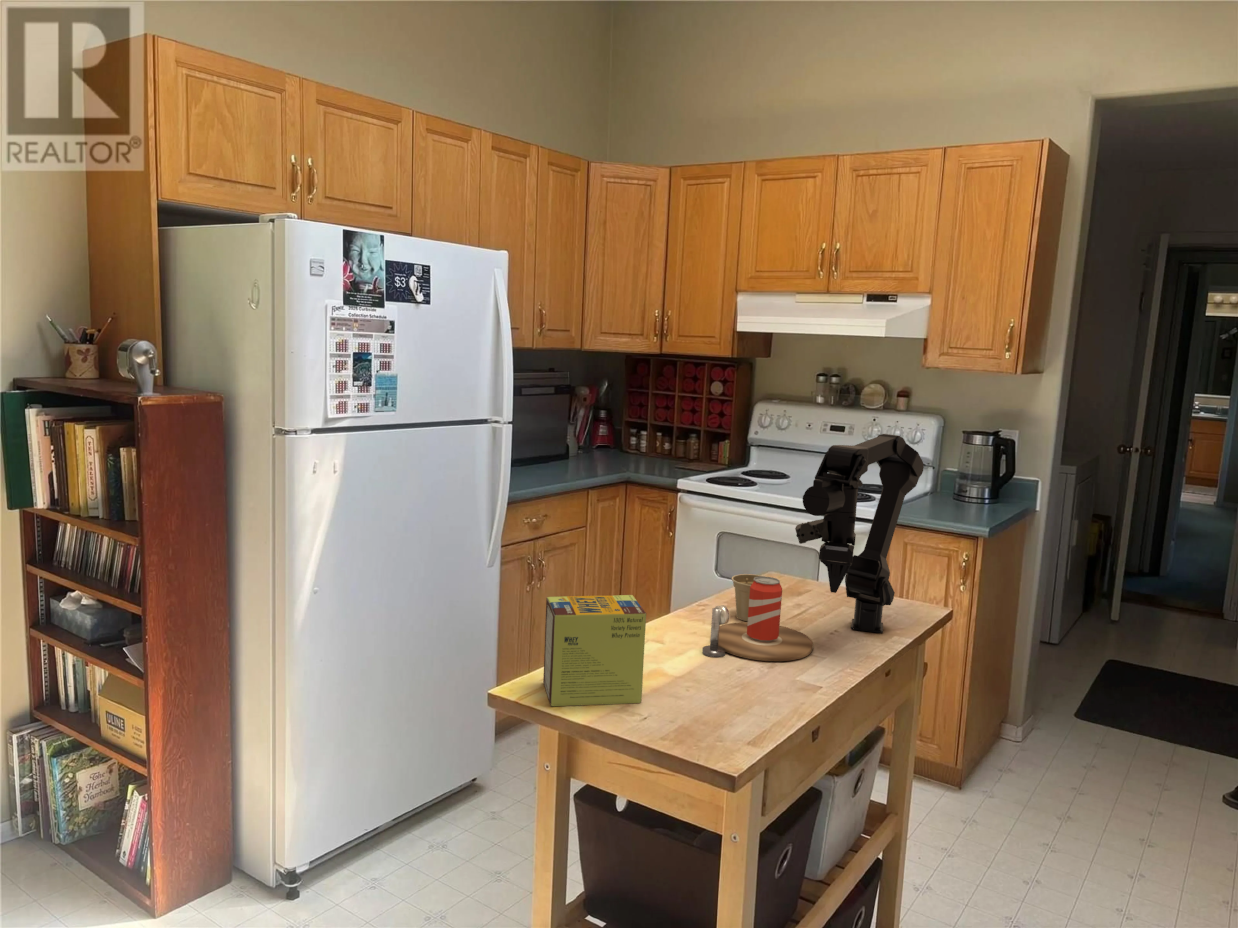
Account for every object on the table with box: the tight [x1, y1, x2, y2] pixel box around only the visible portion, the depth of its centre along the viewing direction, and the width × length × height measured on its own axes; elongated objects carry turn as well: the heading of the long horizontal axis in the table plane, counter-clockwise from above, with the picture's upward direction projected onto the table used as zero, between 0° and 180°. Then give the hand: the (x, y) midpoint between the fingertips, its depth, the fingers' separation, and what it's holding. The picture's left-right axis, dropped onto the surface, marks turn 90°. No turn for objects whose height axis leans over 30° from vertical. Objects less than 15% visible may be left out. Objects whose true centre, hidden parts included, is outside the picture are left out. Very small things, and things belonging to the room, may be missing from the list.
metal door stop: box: [701, 605, 730, 658], centre depth 173 cm, size 4×4×9 cm
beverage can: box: [747, 575, 783, 642], centre depth 179 cm, size 6×6×12 cm
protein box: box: [542, 594, 647, 707], centre depth 151 cm, size 10×15×16 cm
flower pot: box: [731, 573, 767, 622], centre depth 196 cm, size 9×9×9 cm
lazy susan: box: [718, 621, 814, 662], centre depth 180 cm, size 20×20×1 cm
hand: (834, 586), depth 180 cm, fingers open, 9 cm apart
